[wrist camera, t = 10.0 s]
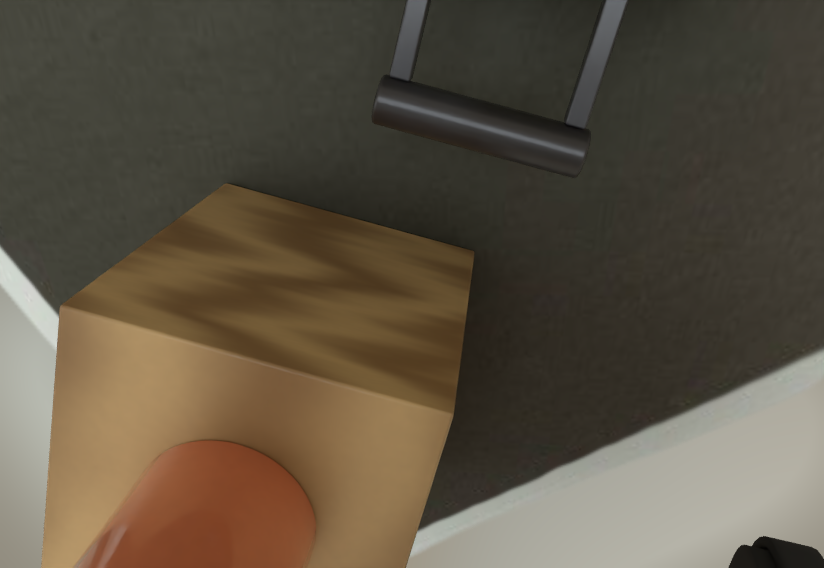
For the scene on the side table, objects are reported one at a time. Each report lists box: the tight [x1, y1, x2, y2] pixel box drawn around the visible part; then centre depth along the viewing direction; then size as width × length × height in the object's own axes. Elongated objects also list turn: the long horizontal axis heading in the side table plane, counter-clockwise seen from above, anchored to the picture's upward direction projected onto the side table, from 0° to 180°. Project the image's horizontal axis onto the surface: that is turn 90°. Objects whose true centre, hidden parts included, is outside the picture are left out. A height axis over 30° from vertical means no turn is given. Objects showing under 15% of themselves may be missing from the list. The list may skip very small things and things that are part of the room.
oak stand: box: [41, 183, 474, 568], centre depth 26 cm, size 10×10×12 cm
